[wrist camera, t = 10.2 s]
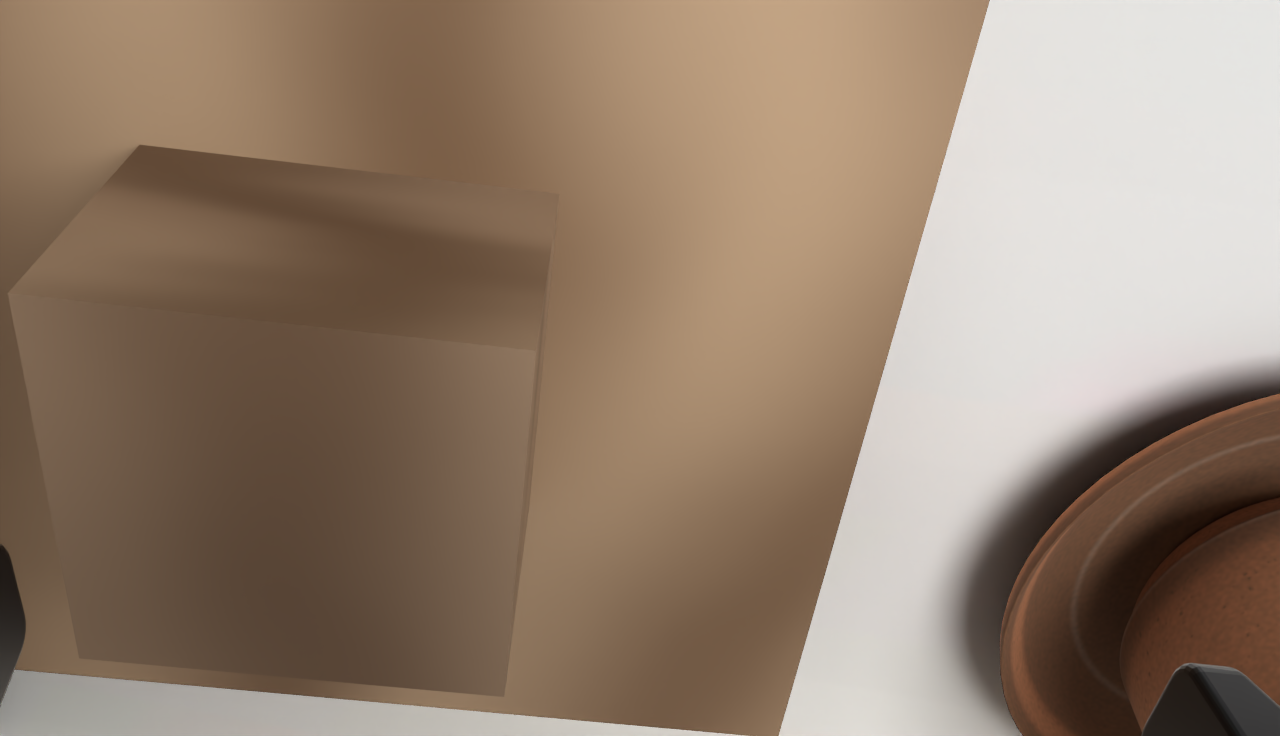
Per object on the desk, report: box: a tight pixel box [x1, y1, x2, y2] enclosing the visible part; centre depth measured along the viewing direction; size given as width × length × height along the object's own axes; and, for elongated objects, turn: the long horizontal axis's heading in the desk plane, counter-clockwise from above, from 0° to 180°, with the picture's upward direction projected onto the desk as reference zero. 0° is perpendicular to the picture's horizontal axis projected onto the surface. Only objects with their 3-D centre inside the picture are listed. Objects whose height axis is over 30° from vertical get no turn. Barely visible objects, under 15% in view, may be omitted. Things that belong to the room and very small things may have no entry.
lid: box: [0, 0, 990, 736], centre depth 15 cm, size 14×14×4 cm
